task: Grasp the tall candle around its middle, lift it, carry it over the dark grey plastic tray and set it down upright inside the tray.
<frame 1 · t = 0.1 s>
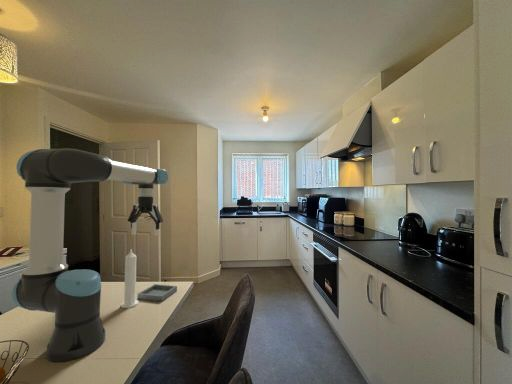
hand: (144, 235, 126), 28 cm above the table, fingers open, 13 cm apart
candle: (129, 304, 104), on the table
tray: (158, 294, 115), on the table
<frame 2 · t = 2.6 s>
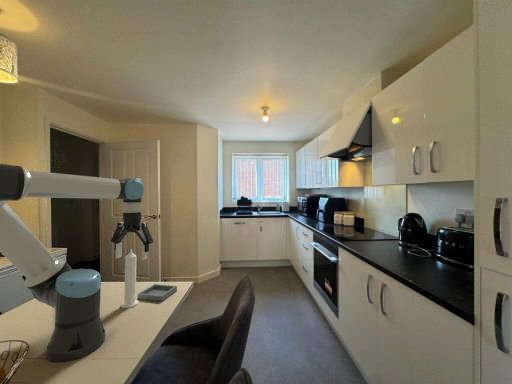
hand: (131, 258, 105), 21 cm above the table, fingers open, 13 cm apart
nothing on the table moved.
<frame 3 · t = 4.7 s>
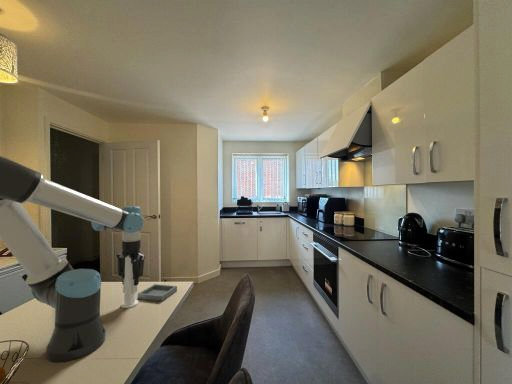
hand: (130, 291, 104), 6 cm above the table, fingers closed on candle, 3 cm apart
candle: (129, 304, 104), on the table, touching gripper
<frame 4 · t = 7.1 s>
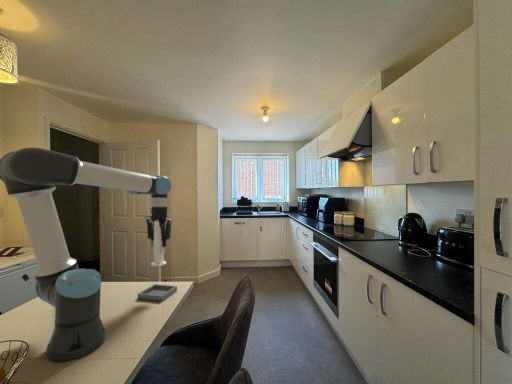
hand: (158, 253, 115), 21 cm above the table, fingers closed on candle, 3 cm apart
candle: (158, 264, 115), point 15 cm above the table, touching gripper
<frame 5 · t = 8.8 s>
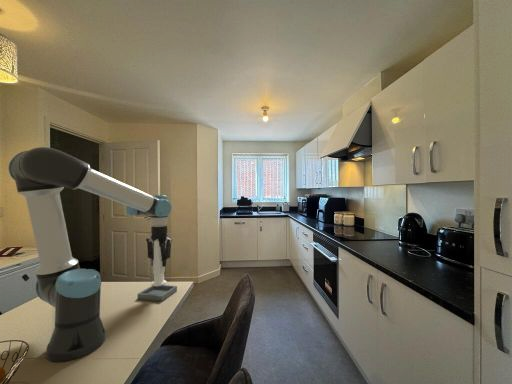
hand: (158, 272, 115), 11 cm above the table, fingers closed on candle, 3 cm apart
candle: (159, 284, 115), point 5 cm above the table, touching gripper
when the fingers open (8 cm above the table, at t = 9.7 s): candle drops 1 cm, resting on tray.
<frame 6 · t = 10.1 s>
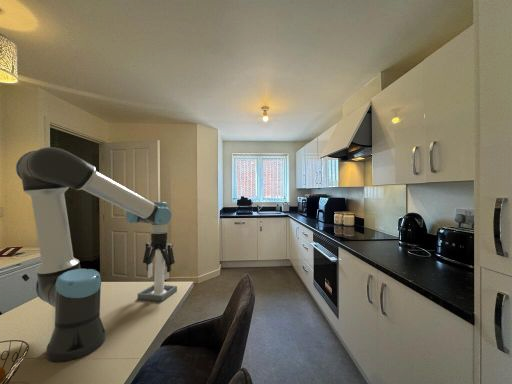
hand: (158, 277, 115), 8 cm above the table, fingers open, 9 cm apart
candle: (158, 294, 115), resting on tray
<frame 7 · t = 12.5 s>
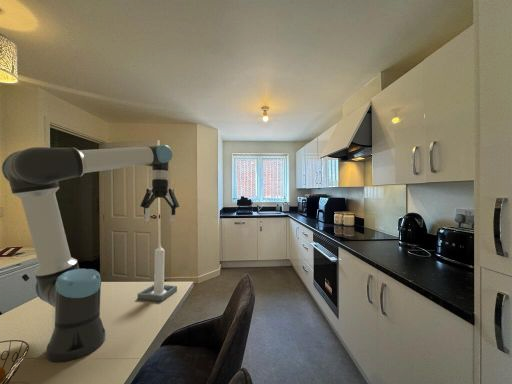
hand: (159, 221, 116), 37 cm above the table, fingers open, 13 cm apart
nothing on the table moved.
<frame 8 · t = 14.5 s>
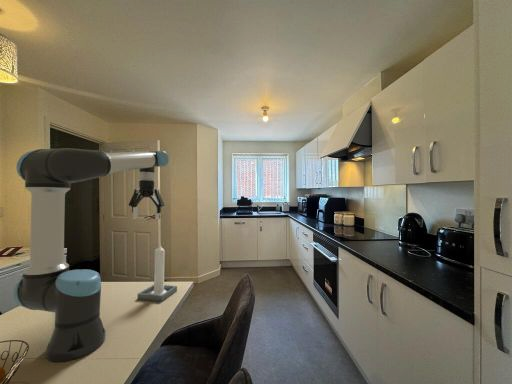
hand: (146, 219, 125), 37 cm above the table, fingers open, 13 cm apart
nothing on the table moved.
at the end: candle inside the target area on the tray (0.4 cm from its centre), point 0.4 cm above the tray's base; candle tilted 0°; the gripper is holding nothing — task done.
